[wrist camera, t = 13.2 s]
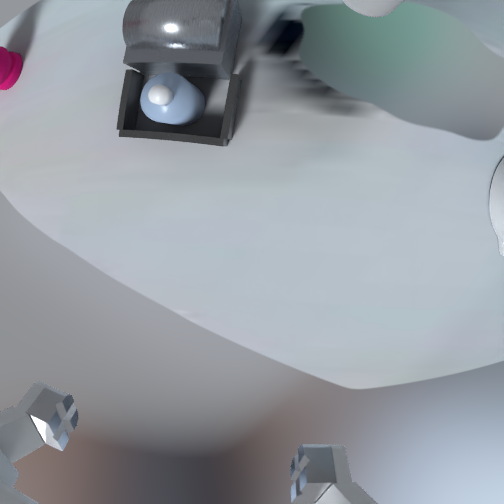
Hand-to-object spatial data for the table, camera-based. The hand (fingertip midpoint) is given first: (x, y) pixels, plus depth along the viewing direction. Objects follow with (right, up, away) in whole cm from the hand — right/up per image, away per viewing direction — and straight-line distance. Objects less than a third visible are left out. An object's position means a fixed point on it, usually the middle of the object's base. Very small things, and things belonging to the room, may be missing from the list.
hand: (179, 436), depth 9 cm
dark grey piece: (-5, +26, +22) cm, 34 cm away
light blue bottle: (-5, +23, +23) cm, 33 cm away
